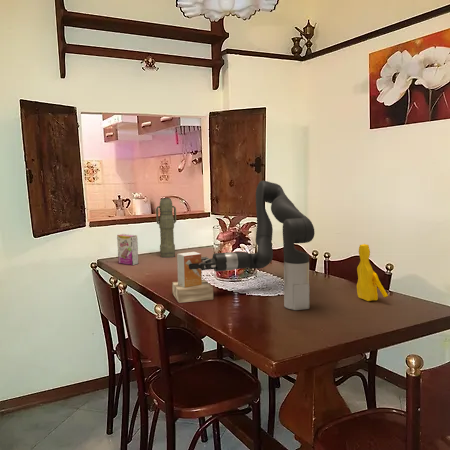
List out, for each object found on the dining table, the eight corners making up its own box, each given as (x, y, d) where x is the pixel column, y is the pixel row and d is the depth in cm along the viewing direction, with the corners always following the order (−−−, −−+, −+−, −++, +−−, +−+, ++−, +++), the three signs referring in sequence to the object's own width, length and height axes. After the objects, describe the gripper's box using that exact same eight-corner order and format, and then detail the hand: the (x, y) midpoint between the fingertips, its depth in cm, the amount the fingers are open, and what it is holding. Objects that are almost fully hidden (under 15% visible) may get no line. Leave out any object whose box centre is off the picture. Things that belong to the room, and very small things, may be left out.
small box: (184, 288, 184) (183, 255, 182) (177, 284, 189) (176, 253, 187) (202, 285, 188) (201, 253, 186) (194, 281, 193) (194, 251, 192)
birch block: (213, 299, 185) (213, 287, 184) (178, 302, 181) (178, 290, 180) (204, 290, 198) (204, 279, 197) (172, 293, 194) (172, 282, 194)
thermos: (179, 256, 276) (177, 198, 272) (161, 258, 271) (158, 199, 267) (174, 254, 284) (172, 197, 280) (156, 256, 279) (153, 198, 274)
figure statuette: (391, 304, 174) (393, 246, 171) (375, 306, 171) (376, 248, 168) (360, 292, 190) (361, 240, 188) (345, 295, 187) (345, 241, 185)
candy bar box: (117, 263, 258) (116, 234, 256) (124, 262, 263) (123, 233, 261) (132, 265, 252) (131, 236, 250) (138, 264, 257) (137, 234, 255)
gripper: (220, 249, 198) (183, 252, 194) (230, 255, 185) (190, 258, 180) (220, 267, 199) (183, 270, 195) (230, 274, 186) (190, 277, 181)
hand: (186, 264), depth 187 cm, fingers open, 8 cm apart
